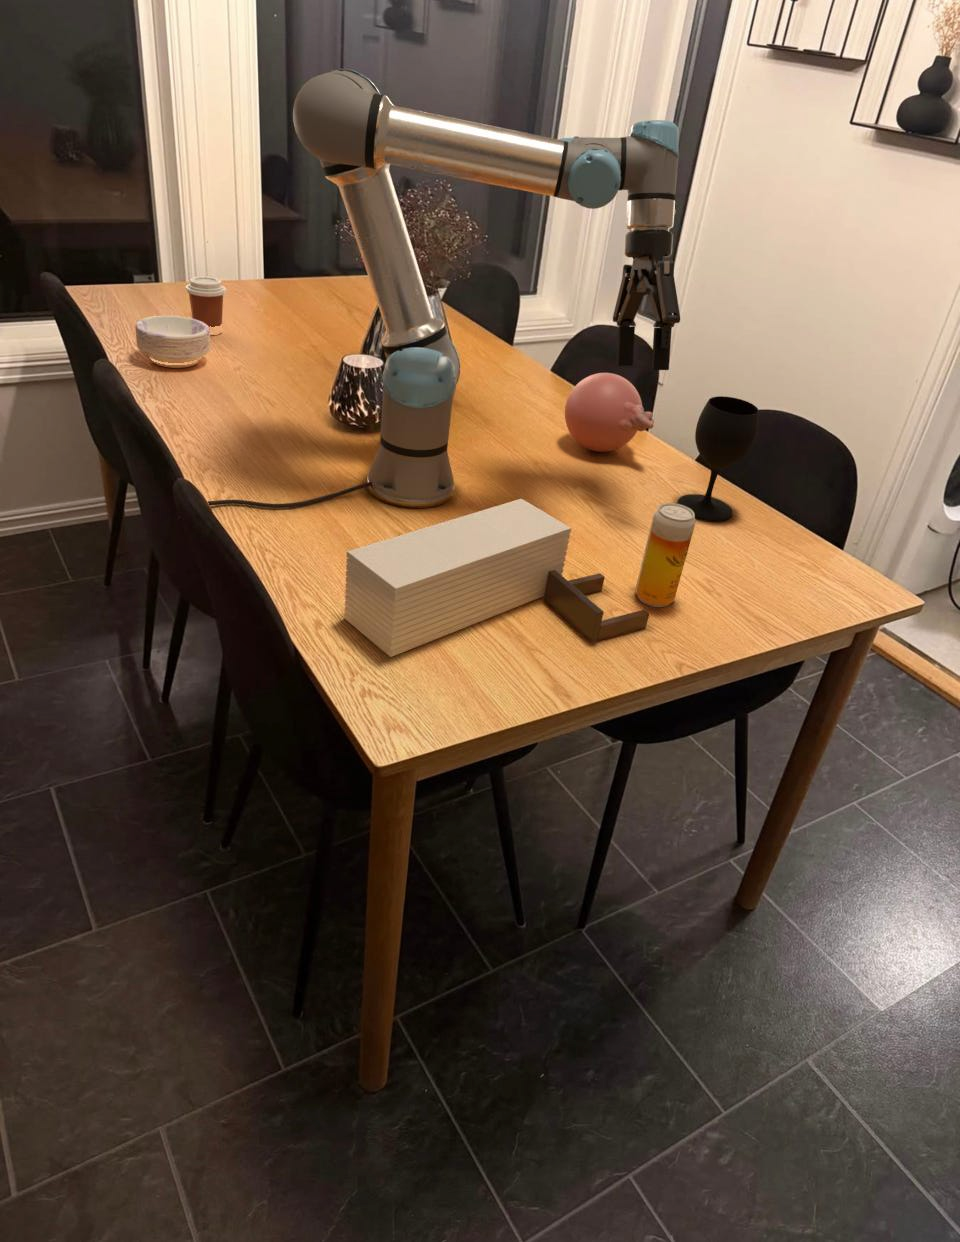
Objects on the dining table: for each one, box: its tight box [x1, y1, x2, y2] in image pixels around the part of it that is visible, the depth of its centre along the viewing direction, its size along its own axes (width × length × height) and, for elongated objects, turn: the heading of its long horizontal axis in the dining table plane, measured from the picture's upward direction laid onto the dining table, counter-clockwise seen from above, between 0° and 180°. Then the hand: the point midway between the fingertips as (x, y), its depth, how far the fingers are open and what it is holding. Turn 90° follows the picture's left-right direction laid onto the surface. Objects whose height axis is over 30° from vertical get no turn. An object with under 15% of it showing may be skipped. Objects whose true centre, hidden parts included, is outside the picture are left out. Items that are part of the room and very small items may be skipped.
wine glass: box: [676, 395, 760, 523], centre depth 165 cm, size 10×10×20 cm
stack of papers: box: [343, 498, 572, 658], centre depth 131 cm, size 32×11×11 cm, turn 131°
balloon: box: [564, 372, 655, 453], centre depth 183 cm, size 15×20×15 cm
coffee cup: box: [185, 275, 227, 327], centre depth 217 cm, size 9×9×12 cm
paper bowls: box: [135, 315, 211, 369], centre depth 200 cm, size 15×15×8 cm
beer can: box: [635, 502, 697, 608], centre depth 137 cm, size 6×6×15 cm
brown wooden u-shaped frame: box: [543, 570, 650, 643], centre depth 135 cm, size 10×12×5 cm
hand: (641, 368), depth 155 cm, fingers open, 13 cm apart
